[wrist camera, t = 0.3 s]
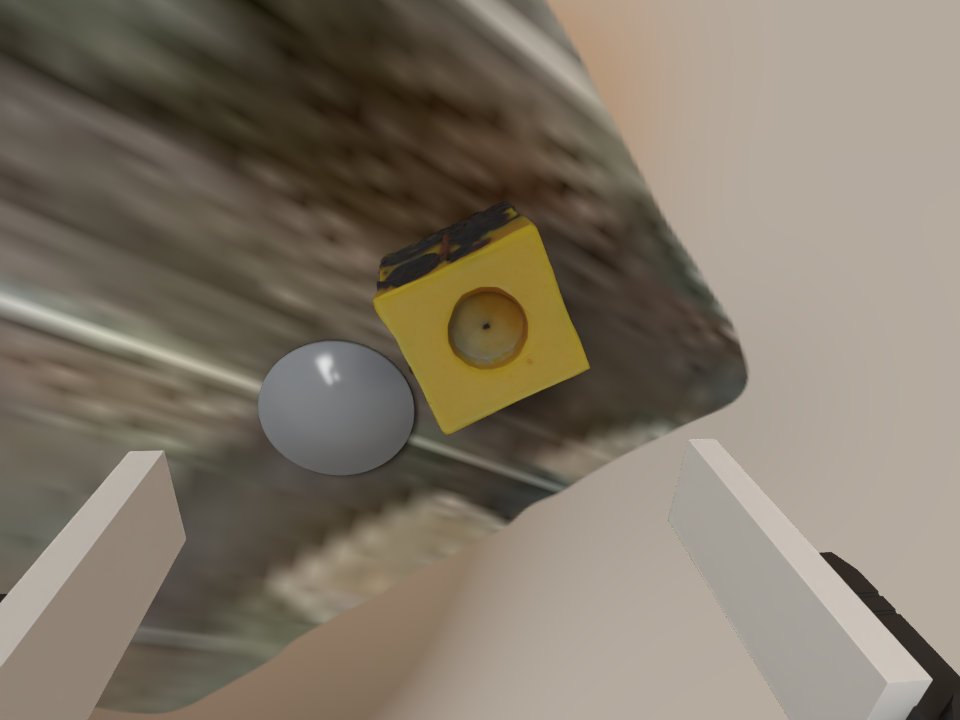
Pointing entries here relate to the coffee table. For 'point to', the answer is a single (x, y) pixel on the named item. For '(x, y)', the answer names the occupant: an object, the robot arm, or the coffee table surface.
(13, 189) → the coffee table surface
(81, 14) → the coffee table surface
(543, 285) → the candle
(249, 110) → the coffee table surface
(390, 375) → the coaster
